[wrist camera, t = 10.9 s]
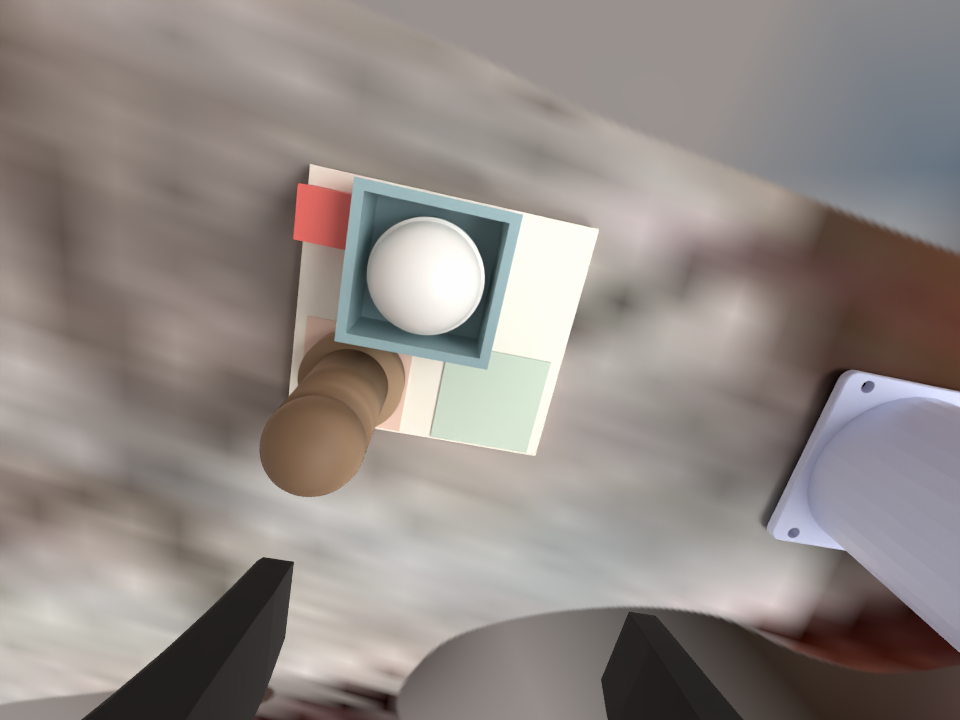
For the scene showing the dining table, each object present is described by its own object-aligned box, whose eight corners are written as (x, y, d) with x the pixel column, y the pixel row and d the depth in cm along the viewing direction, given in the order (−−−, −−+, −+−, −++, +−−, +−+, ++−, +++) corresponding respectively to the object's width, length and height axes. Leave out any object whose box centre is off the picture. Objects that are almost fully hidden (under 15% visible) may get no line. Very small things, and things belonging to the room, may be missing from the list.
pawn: (413, 339, 16) (386, 418, 10) (396, 429, 18) (363, 545, 12) (310, 319, 16) (222, 388, 10) (299, 411, 17) (215, 523, 11)
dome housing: (512, 213, 15) (523, 214, 13) (483, 343, 17) (487, 370, 14) (373, 181, 15) (353, 176, 12) (354, 318, 16) (334, 340, 14)
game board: (592, 228, 16) (614, 232, 14) (532, 445, 19) (541, 478, 17) (317, 165, 15) (292, 159, 13) (294, 404, 18) (270, 433, 16)
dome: (492, 228, 15) (501, 234, 11) (470, 331, 16) (472, 361, 13) (384, 205, 14) (364, 204, 11) (369, 311, 15) (346, 338, 12)
